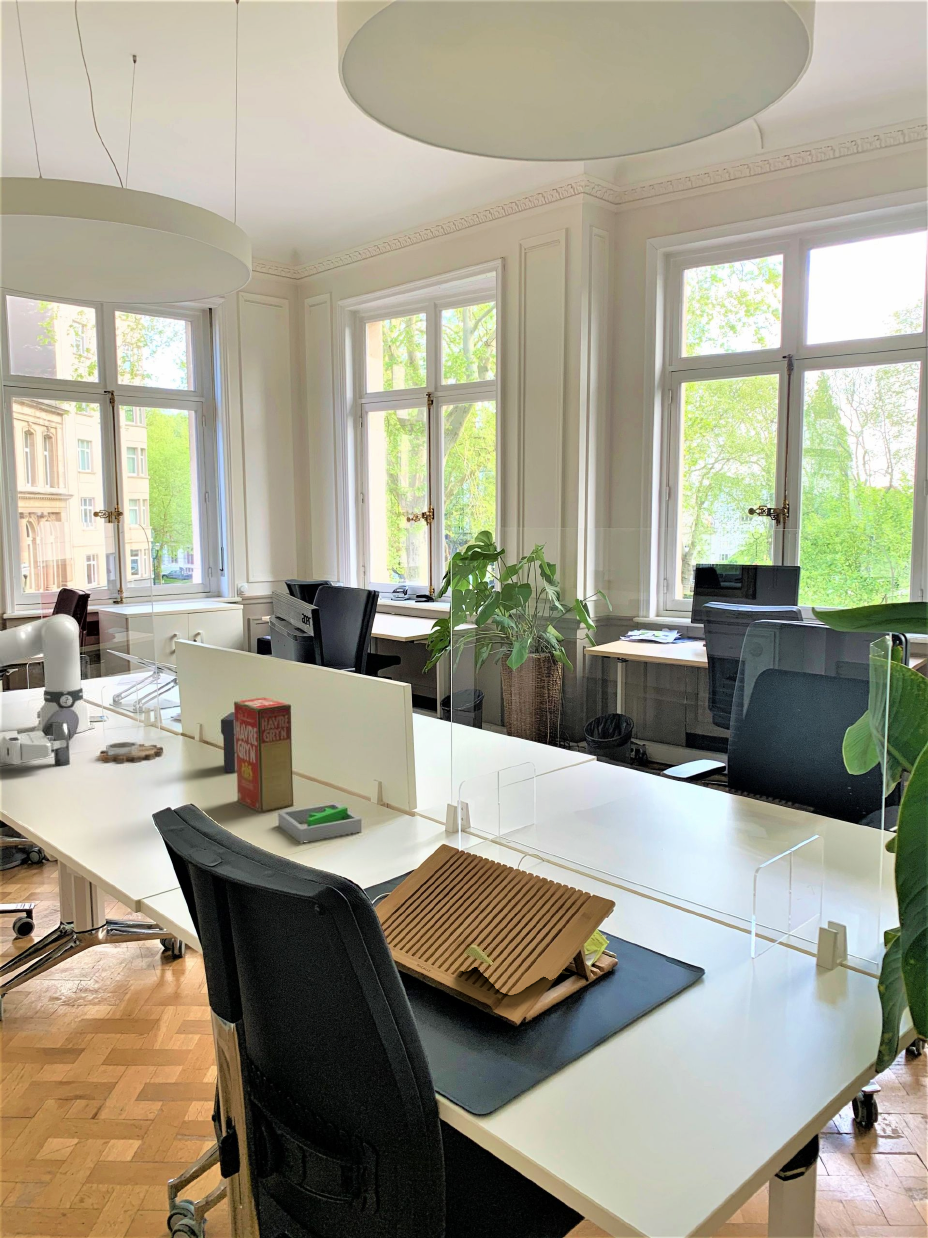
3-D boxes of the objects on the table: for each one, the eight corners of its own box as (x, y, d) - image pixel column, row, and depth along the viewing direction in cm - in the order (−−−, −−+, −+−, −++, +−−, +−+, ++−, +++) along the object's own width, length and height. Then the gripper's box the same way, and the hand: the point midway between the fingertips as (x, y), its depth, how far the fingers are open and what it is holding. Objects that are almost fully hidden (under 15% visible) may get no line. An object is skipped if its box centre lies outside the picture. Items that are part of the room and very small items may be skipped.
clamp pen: (278, 825, 202) (278, 812, 201) (336, 815, 209) (336, 802, 209) (301, 843, 190) (301, 829, 189) (361, 832, 197) (361, 818, 197)
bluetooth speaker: (50, 737, 291) (49, 707, 291) (81, 735, 294) (80, 705, 293) (39, 753, 270) (38, 720, 269) (73, 751, 273) (71, 718, 272)
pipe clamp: (335, 824, 203) (335, 804, 203) (347, 827, 201) (347, 807, 200) (298, 837, 194) (298, 816, 194) (310, 840, 192) (310, 819, 191)
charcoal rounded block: (237, 773, 246) (236, 719, 245) (221, 773, 247) (220, 719, 245) (247, 763, 257) (246, 711, 256) (232, 763, 257) (231, 711, 256)
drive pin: (53, 763, 257) (52, 722, 256) (68, 762, 259) (67, 721, 258) (55, 766, 253) (53, 725, 252) (70, 765, 256) (69, 723, 254)
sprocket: (94, 753, 269) (94, 742, 269) (155, 746, 278) (155, 735, 278) (105, 766, 254) (104, 754, 254) (169, 758, 263) (169, 746, 263)
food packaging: (234, 800, 220) (232, 700, 218) (269, 793, 227) (267, 696, 224) (260, 813, 210) (257, 708, 208) (295, 805, 216) (293, 703, 214)
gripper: (8, 750, 258) (60, 744, 265) (14, 766, 241) (70, 759, 248) (7, 729, 257) (59, 724, 265) (13, 742, 240) (69, 736, 247)
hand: (64, 741), depth 256 cm, fingers open, 4 cm apart
